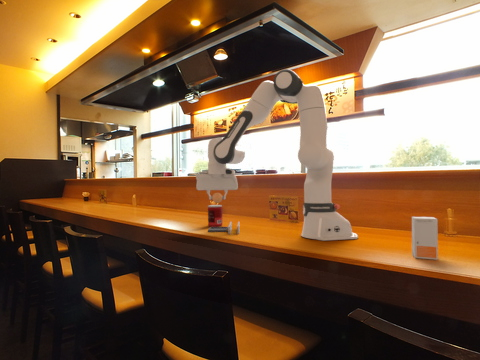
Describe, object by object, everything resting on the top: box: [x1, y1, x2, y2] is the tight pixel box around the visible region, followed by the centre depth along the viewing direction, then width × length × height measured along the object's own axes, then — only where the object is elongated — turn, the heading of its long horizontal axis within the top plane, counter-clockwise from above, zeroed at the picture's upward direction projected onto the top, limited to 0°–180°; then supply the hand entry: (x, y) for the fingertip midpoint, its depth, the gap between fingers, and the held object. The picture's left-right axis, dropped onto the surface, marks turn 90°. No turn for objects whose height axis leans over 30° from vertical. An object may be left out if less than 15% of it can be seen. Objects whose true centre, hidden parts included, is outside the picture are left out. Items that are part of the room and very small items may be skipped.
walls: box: [228, 221, 241, 235], centre depth 139 cm, size 5×16×4 cm, turn 179°
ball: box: [211, 192, 223, 204], centre depth 143 cm, size 5×5×5 cm
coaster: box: [207, 226, 229, 233], centre depth 143 cm, size 9×9×1 cm
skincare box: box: [411, 216, 439, 261], centre depth 87 cm, size 6×4×12 cm
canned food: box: [207, 204, 223, 228], centre depth 158 cm, size 8×8×11 cm
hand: (217, 199), depth 143 cm, fingers closed on ball, 5 cm apart
